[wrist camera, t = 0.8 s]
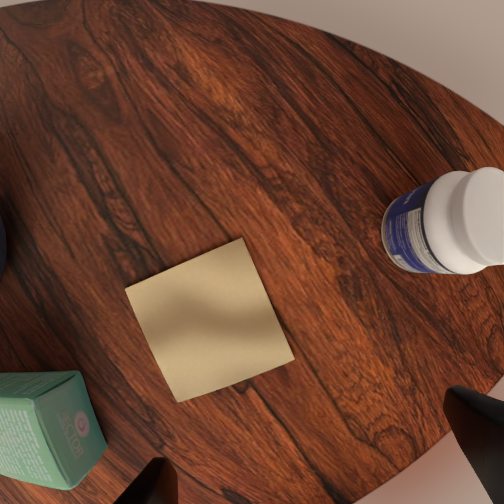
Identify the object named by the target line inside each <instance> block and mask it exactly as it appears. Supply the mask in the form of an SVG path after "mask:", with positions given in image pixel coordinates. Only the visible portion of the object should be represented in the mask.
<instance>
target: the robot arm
mask: <svg viewBox="0 0 504 504" xmlns="http://www.w3.org/2000/svg"><path fill="white" fill-rule="evenodd" d="M443 411H444V414H445V416H446V418H447V420H448V422H449V425H450V427H451V429H452V431H453V433H454V435H455V437H456V439H457V442H458V444H459V446H460V448H461V449H462V451H463V452H464V454H465V456H466V458H467V459H468V461H469V463H470V464H471V466H472V468H473V469H474V471H475V473H476V474H477V476H478V478H479V479H480V481H481V483H482V485H483V486H484V488H485V490H486V491H487V493H488V495H489V497H490V499H491V500H492V502H493V504H504V401H501V400H498V399H495V398H492V397H489V396H487V395H484V394H481V393H479V392H476V391H473V390H471V389H468V388H465V387H463V386H460V385H455V386H452V387H450V388H448V389H447V390H446V392H445V398H444V403H443ZM113 504H178V478H177V473H176V471H175V469H174V467H173V466H172V464H171V463H170V461H169V459H168V458H167V457H155V458H153V459H152V460H151V461H150V462H149V463H148V465H147V466H146V467H145V468H144V469H143V470H142V471H141V473H140V474H139V475H138V476H137V477H136V478H135V479H134V481H133V482H132V483H131V484H130V485H129V486H128V487H127V488H126V490H125V491H124V492H123V493H122V494H121V495H120V496H119V497H118V498H117V500H116V501H115V502H114V503H113Z"/></svg>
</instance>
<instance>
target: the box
mask: <svg viewBox="0 0 504 504" xmlns="http://www.w3.org/2000/svg"><path fill="white" fill-rule="evenodd" d="M107 447H108V446H107V443H106V441H105V439H104V436H103V434H102V431H101V429H100V426H99V424H98V421H97V419H96V416H95V414H94V411H93V408H92V405H91V402H90V399H89V396H88V393H87V390H86V386H85V383H84V380H83V377H82V375H81V373H80V371H76V370H73V371H56V372H28V373H0V474H1V475H4V476H7V477H11V478H14V479H17V480H21V481H24V482H28V483H32V484H37V485H41V486H46V487H51V488H56V489H61V490H70V489H73V488H75V487H76V486H77V485H78V484H79V483H80V482H81V481H82V480H83V479H84V477H85V476H86V475H87V474H88V473H89V472H90V471H91V470H92V468H93V467H94V466H95V465H96V464H97V462H98V460H99V459H100V457H101V455H102V454H103V453H104V451H105V450H106V449H107Z"/></svg>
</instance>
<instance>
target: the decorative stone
mask: <svg viewBox="0 0 504 504" xmlns="http://www.w3.org/2000/svg"><path fill="white" fill-rule="evenodd" d="M6 256H7V247H6V232H5V228H4V225H3V221H2V217H1V214H0V280H1V278H2V275H3V271H4V267H5V263H6Z"/></svg>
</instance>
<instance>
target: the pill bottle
mask: <svg viewBox="0 0 504 504" xmlns="http://www.w3.org/2000/svg"><path fill="white" fill-rule="evenodd" d="M381 235H382V241H383V245H384V247H385V250H386V252H387V254H388V255H389V257H390V258H391V260H392V261H393V262H394V263H395V264H396V265H398V266H399V267H401V268H402V269H405V270H407V271H410V272H417V273H444V274H472V273H476V272H478V271H480V270H482V269H484V268H485V267H487V266H491V265H502V264H504V172H503V171H501V170H499V169H497V168H493V167H484V168H481V169H478V170H476V171H473V172H471V173H469V172H464V171H454V172H450V173H447V174H445V175H442V176H440V177H438V178H436V179H435V180H432V181H430V182H428V183H426V184H424V185H422V186H420V187H418V188H416V189H414V190H412V191H410V192H408V193H406V194H404V195H402V196H400V197H398V198H397V199H395V200H394V201H393V202H392V203H391V204H390V205H389V206H388V208H387V210H386V211H385V214H384V216H383V220H382V227H381Z"/></svg>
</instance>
